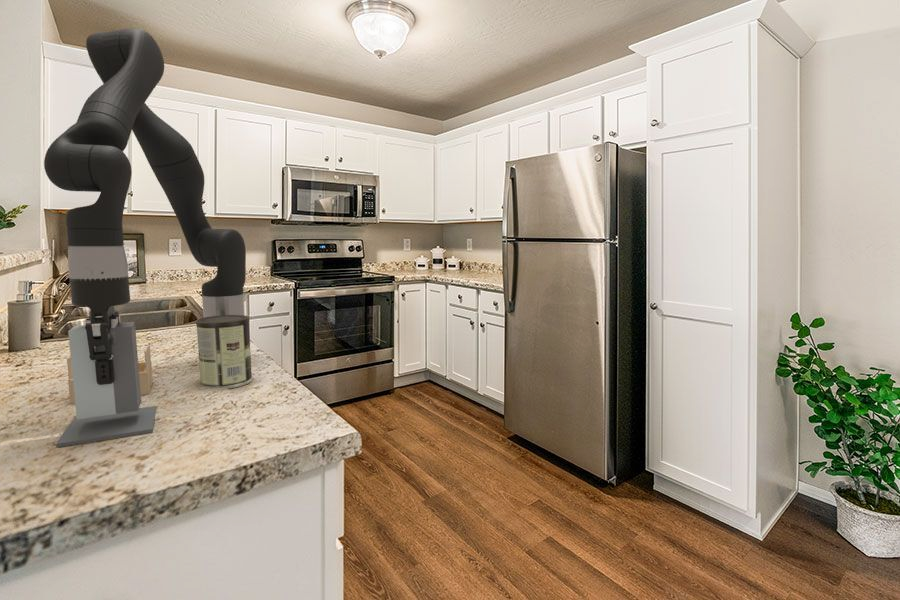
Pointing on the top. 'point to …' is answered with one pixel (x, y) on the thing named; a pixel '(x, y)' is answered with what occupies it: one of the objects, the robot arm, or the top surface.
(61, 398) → the top surface
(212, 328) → the coffee can
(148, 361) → the carton
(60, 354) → the top surface
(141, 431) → the mat
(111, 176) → the robot arm
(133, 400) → the box
